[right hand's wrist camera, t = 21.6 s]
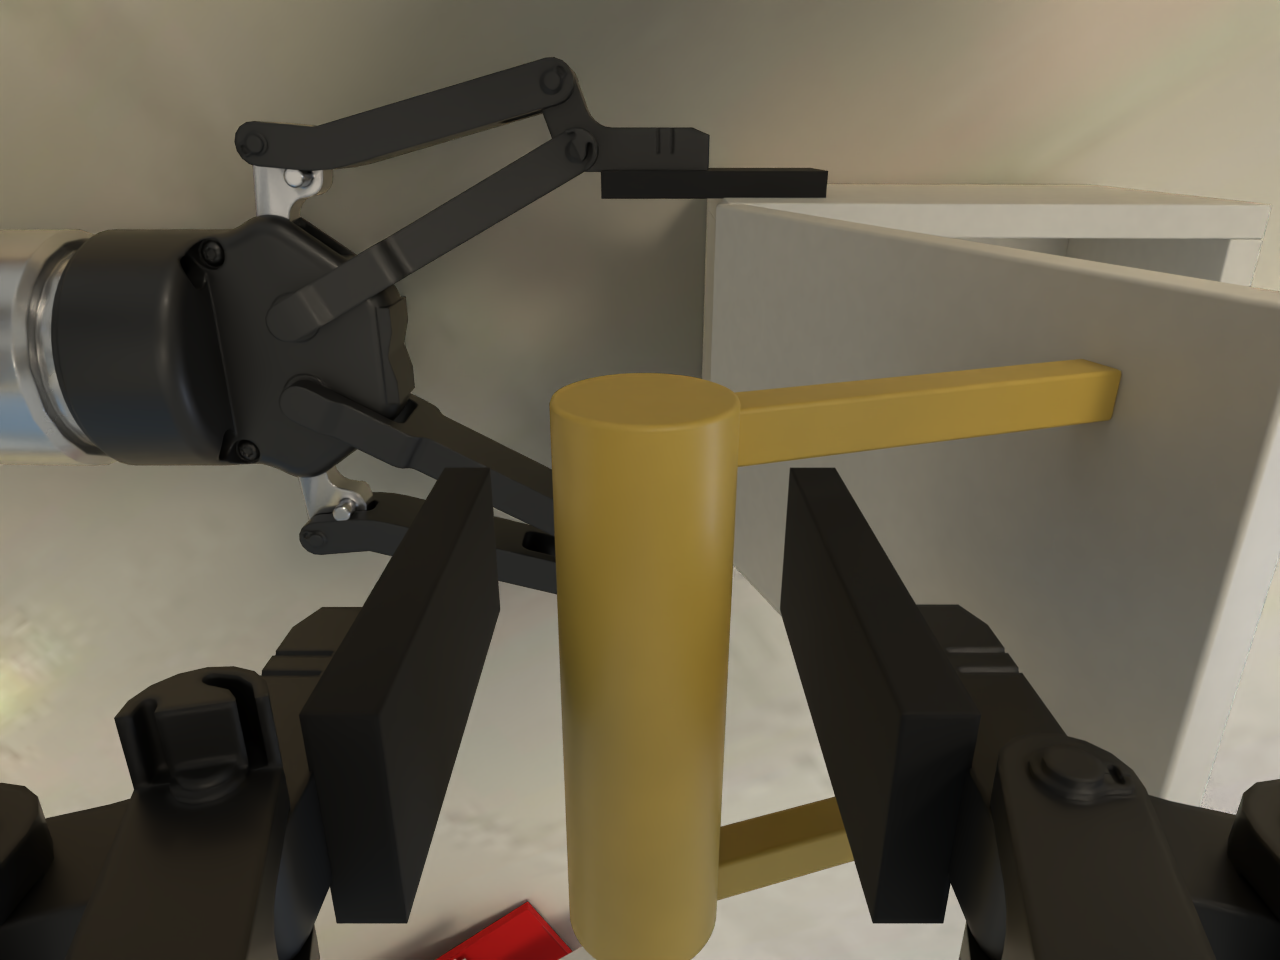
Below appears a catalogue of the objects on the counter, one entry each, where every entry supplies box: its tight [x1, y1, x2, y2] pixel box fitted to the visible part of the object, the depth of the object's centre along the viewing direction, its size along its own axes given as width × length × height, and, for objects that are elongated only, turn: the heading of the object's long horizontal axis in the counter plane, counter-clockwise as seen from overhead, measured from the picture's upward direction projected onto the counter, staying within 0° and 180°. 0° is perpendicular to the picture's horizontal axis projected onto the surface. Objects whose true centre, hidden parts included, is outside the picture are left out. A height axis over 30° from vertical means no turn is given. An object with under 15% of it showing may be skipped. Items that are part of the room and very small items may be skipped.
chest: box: [702, 184, 1272, 381], centre depth 29 cm, size 14×10×10 cm, turn 90°
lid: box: [549, 204, 1280, 960], centre depth 16 cm, size 15×10×8 cm
